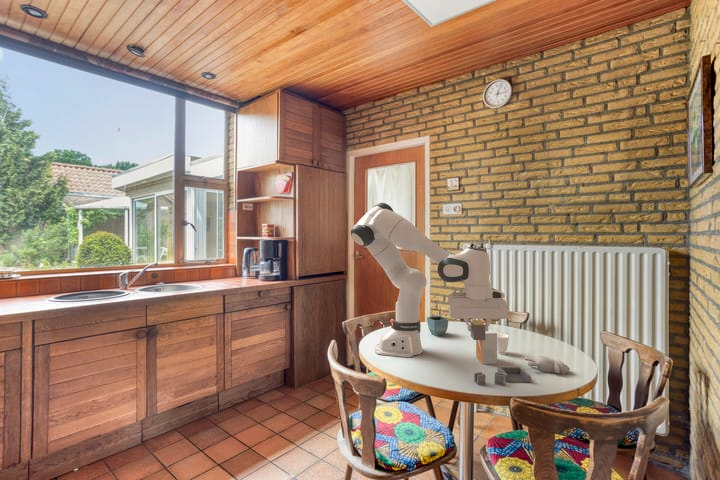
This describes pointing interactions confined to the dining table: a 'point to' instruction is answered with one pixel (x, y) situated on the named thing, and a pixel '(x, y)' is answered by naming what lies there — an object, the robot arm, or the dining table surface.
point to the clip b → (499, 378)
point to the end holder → (514, 374)
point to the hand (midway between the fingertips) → (477, 330)
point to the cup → (502, 343)
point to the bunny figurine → (548, 365)
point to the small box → (487, 348)
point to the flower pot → (437, 325)
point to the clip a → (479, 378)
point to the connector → (478, 330)
